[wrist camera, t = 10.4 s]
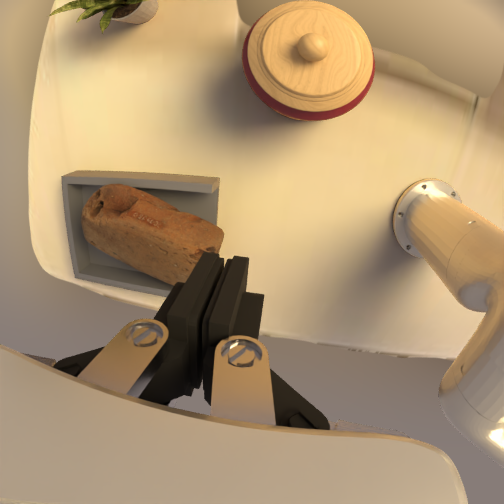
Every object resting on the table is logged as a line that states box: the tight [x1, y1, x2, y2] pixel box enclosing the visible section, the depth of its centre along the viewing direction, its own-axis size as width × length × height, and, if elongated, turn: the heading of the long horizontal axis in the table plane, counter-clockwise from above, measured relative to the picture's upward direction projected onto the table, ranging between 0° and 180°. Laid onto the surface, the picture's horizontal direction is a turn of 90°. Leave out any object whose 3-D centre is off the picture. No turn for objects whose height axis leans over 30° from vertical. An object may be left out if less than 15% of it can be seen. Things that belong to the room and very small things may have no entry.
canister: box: [242, 0, 375, 121], centre depth 27 cm, size 13×13×18 cm
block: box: [81, 184, 224, 286], centre depth 41 cm, size 11×8×20 cm
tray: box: [62, 171, 220, 297], centre depth 45 cm, size 25×18×4 cm
